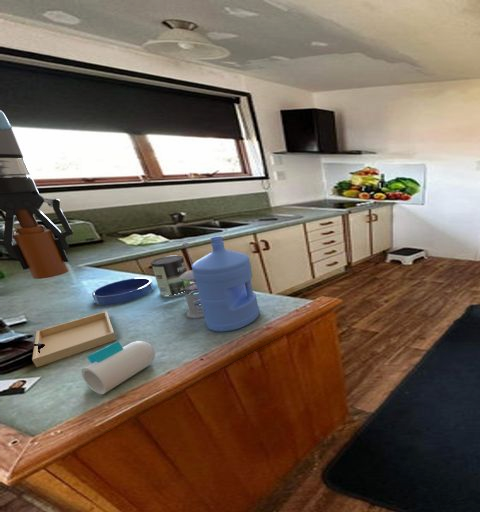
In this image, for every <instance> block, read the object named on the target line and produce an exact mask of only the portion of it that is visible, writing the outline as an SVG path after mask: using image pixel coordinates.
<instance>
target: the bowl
mask: <svg viewBox="0 0 480 512" xmlns="http://www.w3.org/2000/svg"><path fill="white" fill-rule="evenodd" d="M154 289H155V287H154V284H153V281H152V279H151V278H148V277H134V278H128V279H122V280H117V281H114V282H111V283H108V284H105V285H102V286H100V287H98V288H96V289H95V290H93V291H92V293H91V296H92V298H93V301H94V303H95V305H98V306H113V305H120V304H125V303H128V302H132V301H136V300H138V299H140V298H143V297H146V296H147V295H149V294H151V293H152V292H153V291H154Z"/></svg>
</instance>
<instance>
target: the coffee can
mask: <svg viewBox="0 0 480 512" xmlns="http://www.w3.org/2000/svg"><path fill="white" fill-rule="evenodd" d="M150 265H151V268H152V271H153V275H154V278H155V281H156V284H157V287H158V290H159V293H160V296H161V297H164V298H171V297H178V296H180V295H185V293H184V291H186V290H185V289H184V288H185V287H186V286H187V285H189V284H191V280H189V281H184V280H181V279H180V276H181V275H182V274H184V273H185V272H187V271H188V269H187V266H186V263H185V257H184V256H183V255H168V256H163V257H159V258H155V259H154V260H152V261H150ZM181 292H183V293H181ZM178 293H180V294H178ZM174 294H176V295H174ZM164 295H169V296H164Z"/></svg>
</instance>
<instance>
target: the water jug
mask: <svg viewBox="0 0 480 512" xmlns="http://www.w3.org/2000/svg"><path fill="white" fill-rule="evenodd" d="M209 240H210V242H211V243H210V245H211V247H212V251H211V252H209V253H208V254H206V255H204V256H203V257H201V258H199V259H197V260H196V261H194V262H193V263H192V266H191V270H193V276H194V279H195V280H194V281H195V283H196V285H197V289H198V290H197V291H198V292H197V294H199V300H200V302H201V305H202V308H203V312H204V315H205V316H204V321H205V322H204V323H205V326H206V327H207V328H208V329H209V330H210V331H213V332H231V331H236V330H239V329H242V328H244V327H246V326H248V325H250V324H252V323H253V322H254V321H256V319H257V318H258V317H259V315H260V307H259V304H258V299H257V294H256V292H254V290H253V285H252V277H253V272H252V264H251V263H252V262H251V261H250V257H249V255H248V254H246V253H243V252H239V251H233V250H228V249H226V247H225V243H224V241H223V236H214V237H210V238H209Z"/></svg>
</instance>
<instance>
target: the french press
mask: <svg viewBox="0 0 480 512" xmlns="http://www.w3.org/2000/svg"><path fill="white" fill-rule="evenodd" d="M190 246H191V244H190V243H189V242H184V243H182V248H186V252H187V255H188V259H189V263H190V265H191V267H192V265H193V263H192V260H191V256H190V253H189V249H188V247H190ZM180 279H181V280H184V281H195V279H194V276H193V270H192V269H191V270H187V272H185V273H184V274H182V275H181V276H180ZM184 289H185V290H186V291H185V292H184V297H185V301H186V305H187V307H188V311H187V313H186V316H187V317H188V318H191V319H197V318H203V317H205V315H204V312H203V308H202V305H199V304H201V302H200V299H199V293H198V289H197V285H196V282H191V283H190V284H189V285H187V286H186V287H185V288H184Z"/></svg>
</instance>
